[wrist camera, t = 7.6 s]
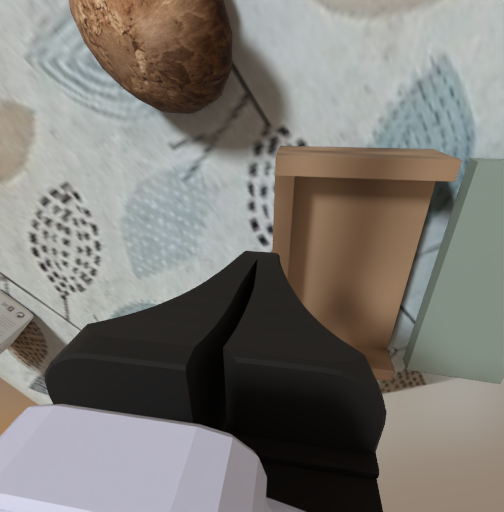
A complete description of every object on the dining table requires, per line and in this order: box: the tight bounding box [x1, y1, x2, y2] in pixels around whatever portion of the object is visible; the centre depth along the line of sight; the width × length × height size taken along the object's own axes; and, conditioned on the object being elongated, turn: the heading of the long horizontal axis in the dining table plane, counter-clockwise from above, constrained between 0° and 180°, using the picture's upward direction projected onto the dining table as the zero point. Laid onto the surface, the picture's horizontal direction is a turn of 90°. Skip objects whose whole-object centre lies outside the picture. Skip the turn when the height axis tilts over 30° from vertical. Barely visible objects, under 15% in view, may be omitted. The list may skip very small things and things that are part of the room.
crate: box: [272, 146, 462, 381], centre depth 20 cm, size 9×15×4 cm, turn 0°
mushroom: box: [69, 0, 232, 113], centre depth 14 cm, size 8×8×6 cm
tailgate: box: [403, 158, 504, 384], centre depth 18 cm, size 1×15×6 cm
